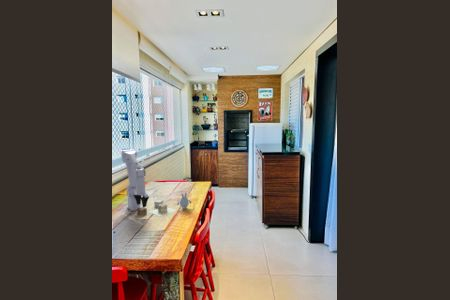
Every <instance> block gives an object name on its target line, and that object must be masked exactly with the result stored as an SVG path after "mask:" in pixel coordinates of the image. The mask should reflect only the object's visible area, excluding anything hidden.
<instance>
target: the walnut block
mask: <svg viewBox="0 0 450 300" xmlns="http://www.w3.org/2000/svg"><path fill="white" fill-rule="evenodd" d="M136 211H137V215H138V216H144V215H147V213H148V212H147V207H143V206H141V208H138V209H136Z"/></svg>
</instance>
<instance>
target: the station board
mask: <svg viewBox="0 0 450 300" xmlns="http://www.w3.org/2000/svg"><path fill="white" fill-rule="evenodd" d="M174 212H177V210H176V209H174V208H171V207H168V206H167V211H166V212H163V213H161V212H159V211H158V208H156V209H152V210H150V211H148V213H150V214H153V215H155V216H157V217H163V216H166V215H168V214H169V215H170V214H171V213H174Z"/></svg>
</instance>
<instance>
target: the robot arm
mask: <svg viewBox="0 0 450 300" xmlns="http://www.w3.org/2000/svg"><path fill="white" fill-rule="evenodd" d="M137 156H138V152H137V150H136V149H135V148H133V149H122V150H121V159H122V163H124V164H125V166H126V172H127V177H128V182H129V183H128V185H127V186H126V196H127V207H126V209H128V210H131V211H135V210H136V211H137V209H138V208H141V207H145V208H147V204H148V200H149V198H150V196H149V194H148V193H147V192H146V184H145V183H146V182H145V177H146V175H147V174H146V170H145V168H144V167H142V164H141V163H140V162H139V161H138V160H137ZM141 205H142V206H141Z"/></svg>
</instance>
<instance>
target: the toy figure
mask: <svg viewBox="0 0 450 300" xmlns="http://www.w3.org/2000/svg"><path fill="white" fill-rule="evenodd" d="M192 203H193V201H192V200H191V199H190V200H189V199H188V197H187V192H185V193H181V198H180V201H178V202H177V204H176V205H177V206H179V205H180V207H182V208H181V210H187V209H188V206H189V204H192Z"/></svg>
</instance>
